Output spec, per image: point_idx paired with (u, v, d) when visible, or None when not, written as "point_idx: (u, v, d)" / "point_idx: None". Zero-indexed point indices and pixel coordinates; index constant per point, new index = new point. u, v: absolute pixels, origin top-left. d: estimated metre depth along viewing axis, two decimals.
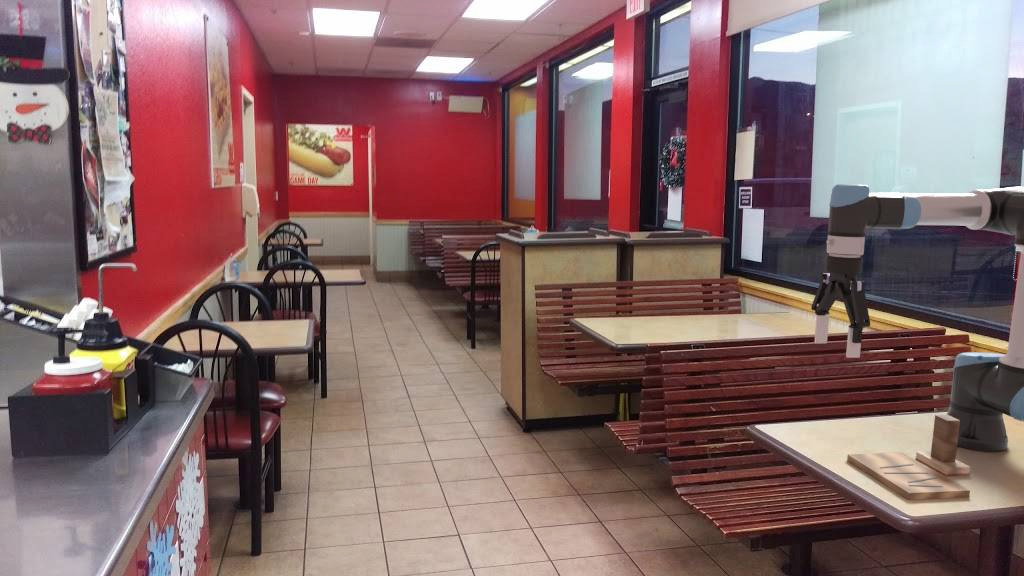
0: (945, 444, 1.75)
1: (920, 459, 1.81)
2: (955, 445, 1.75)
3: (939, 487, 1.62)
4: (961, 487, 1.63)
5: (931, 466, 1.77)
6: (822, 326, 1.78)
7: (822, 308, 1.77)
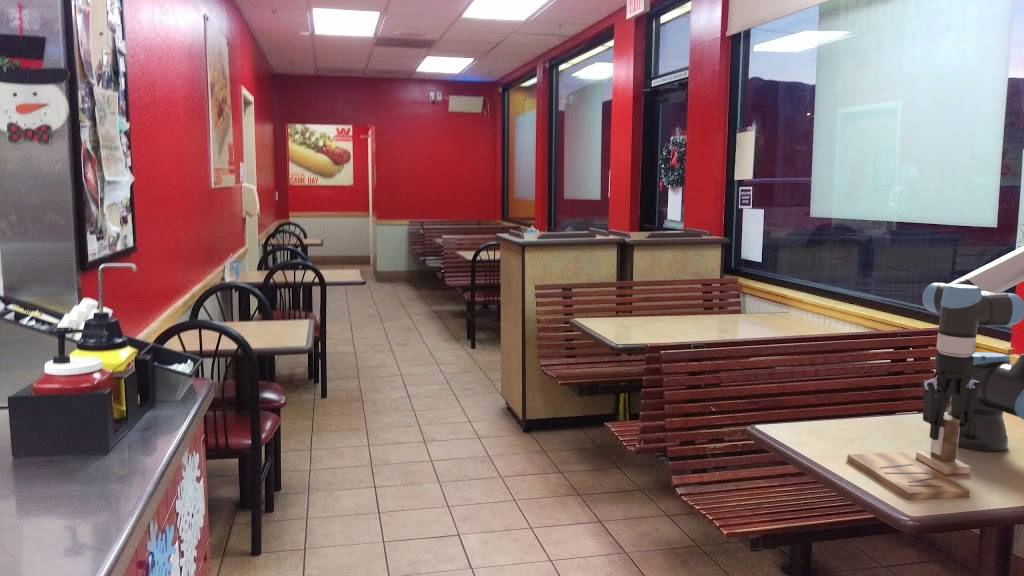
0: (945, 444, 1.75)
1: (920, 459, 1.81)
2: (955, 445, 1.75)
3: (939, 487, 1.62)
4: (961, 487, 1.63)
5: (931, 466, 1.77)
6: None
7: (953, 413, 1.77)
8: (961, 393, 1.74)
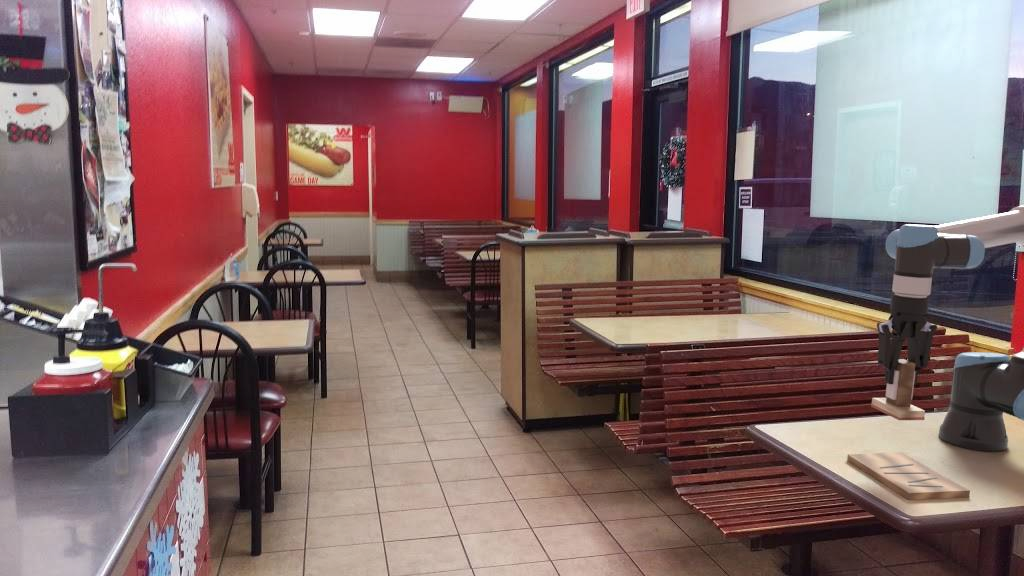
0: (899, 388, 1.71)
1: (876, 405, 1.77)
2: (910, 389, 1.71)
3: (939, 487, 1.62)
4: (961, 487, 1.63)
5: (886, 411, 1.73)
6: None
7: (909, 357, 1.73)
8: (916, 336, 1.70)
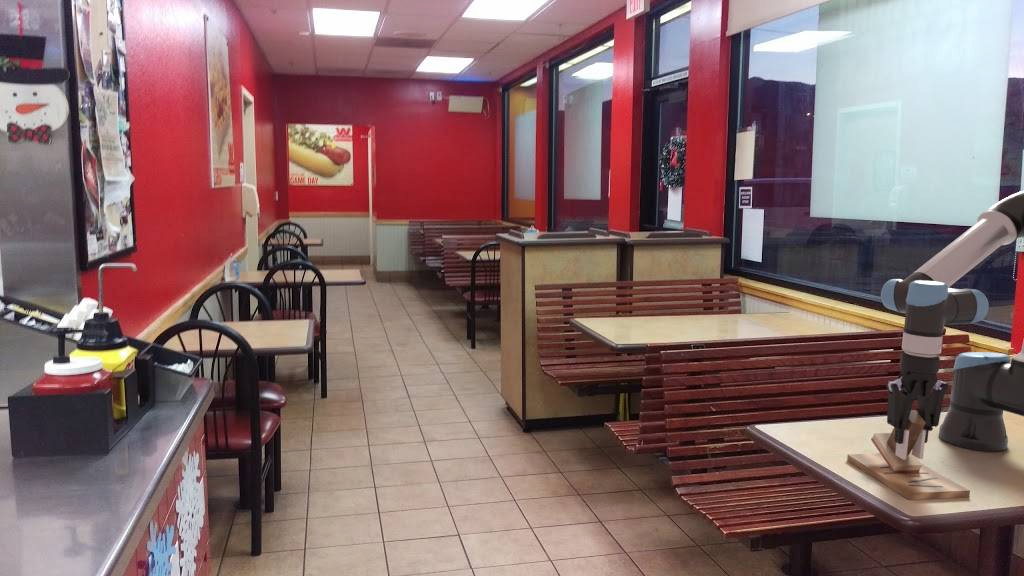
0: None
1: (875, 442, 1.77)
2: (913, 442, 1.70)
3: (939, 487, 1.62)
4: (961, 487, 1.63)
5: (883, 455, 1.74)
6: (917, 439, 1.69)
7: None
8: (927, 395, 1.66)
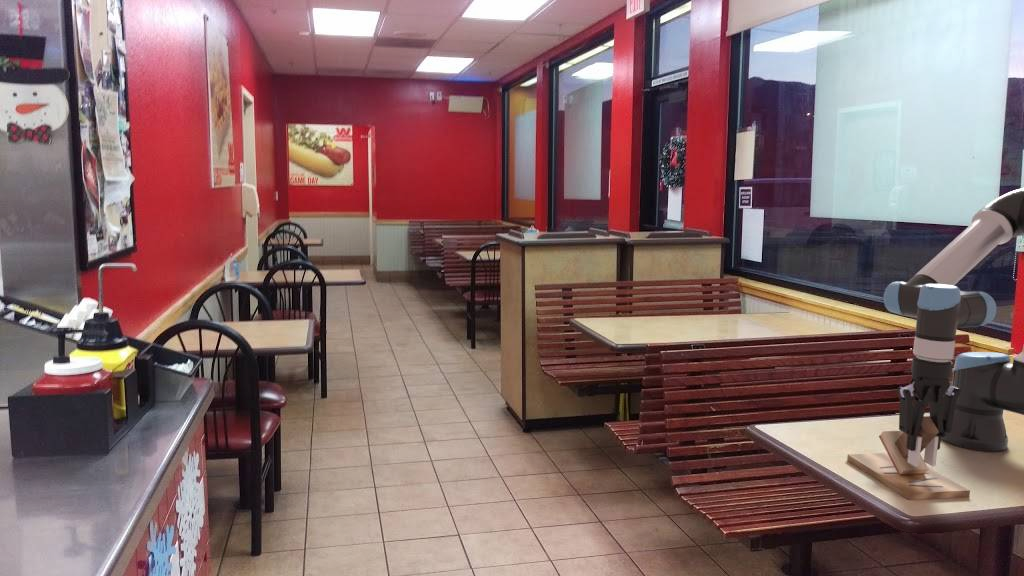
0: None
1: (883, 440, 1.74)
2: (923, 447, 1.67)
3: (939, 487, 1.62)
4: (961, 487, 1.63)
5: (890, 455, 1.71)
6: (929, 445, 1.66)
7: None
8: (939, 401, 1.62)
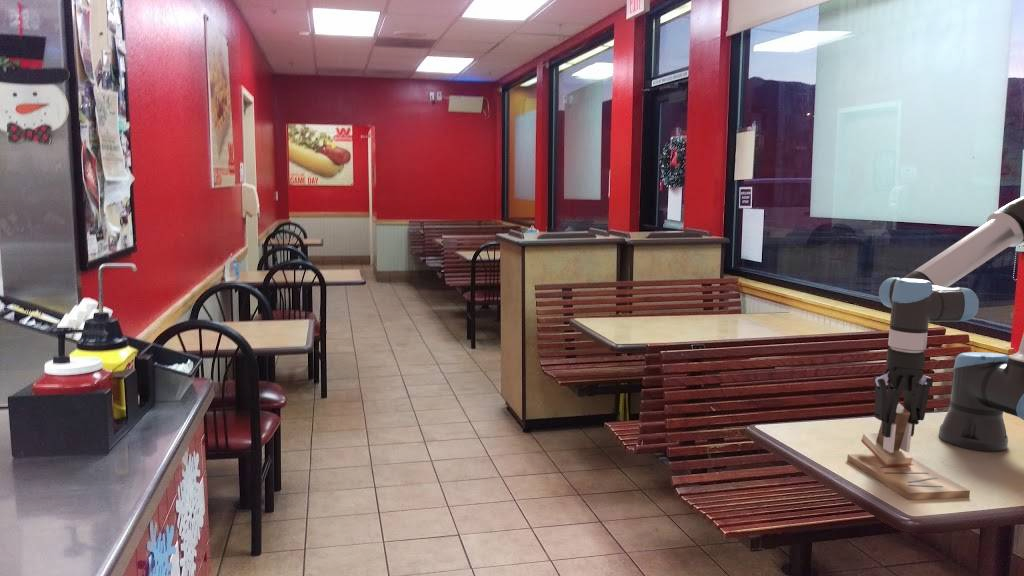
0: None
1: (865, 442, 1.80)
2: (901, 435, 1.74)
3: (939, 487, 1.62)
4: (961, 487, 1.63)
5: (875, 452, 1.77)
6: None
7: None
8: (913, 389, 1.71)
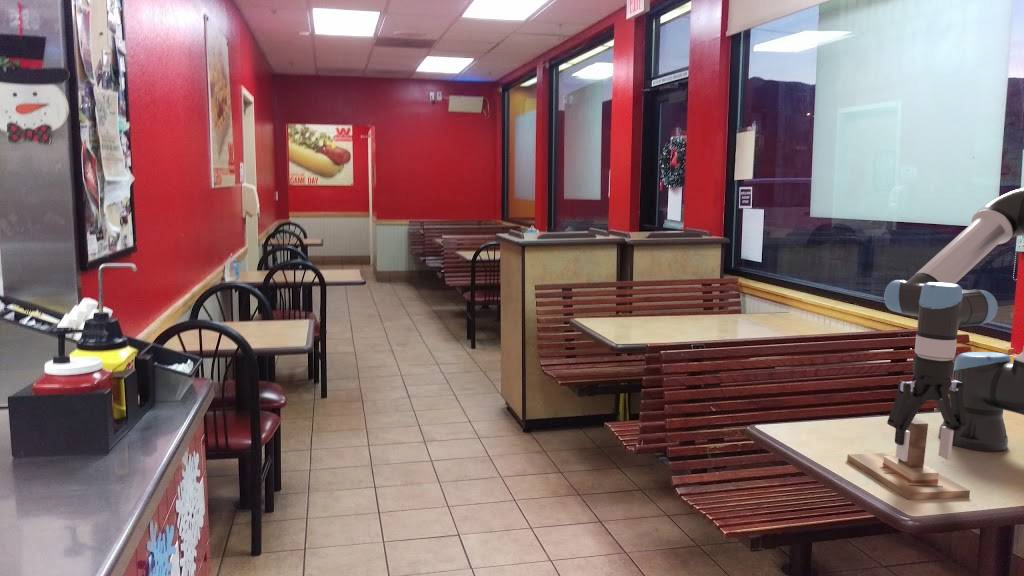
0: (912, 449, 1.67)
1: (887, 464, 1.72)
2: (923, 450, 1.67)
3: (939, 487, 1.62)
4: (961, 487, 1.63)
5: (898, 472, 1.69)
6: (944, 439, 1.66)
7: (944, 417, 1.66)
8: (944, 398, 1.62)
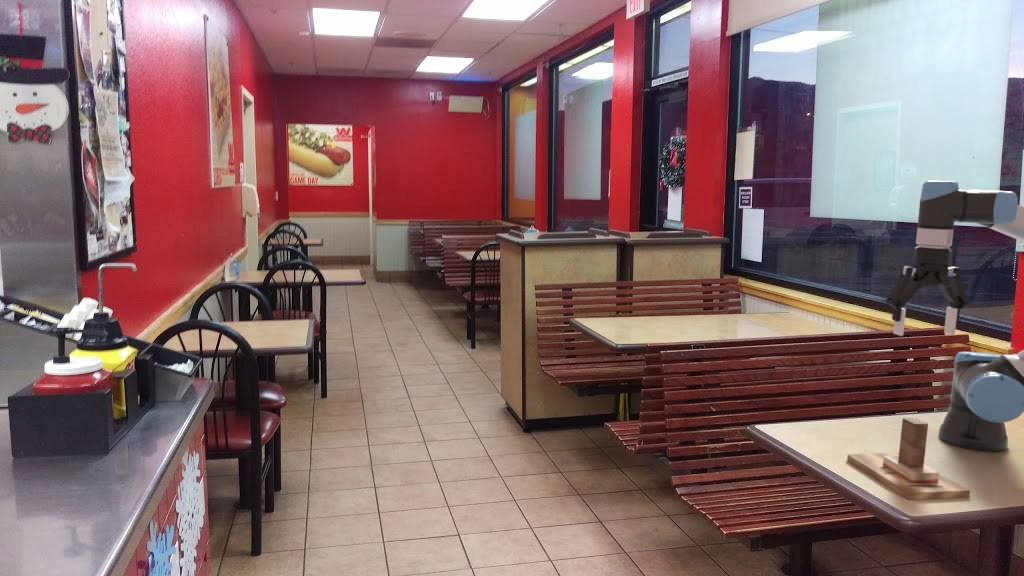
0: (912, 449, 1.67)
1: (887, 464, 1.72)
2: (923, 450, 1.67)
3: (939, 487, 1.62)
4: (961, 487, 1.63)
5: (898, 472, 1.69)
6: (949, 317, 1.86)
7: (947, 299, 1.86)
8: (944, 283, 1.83)
